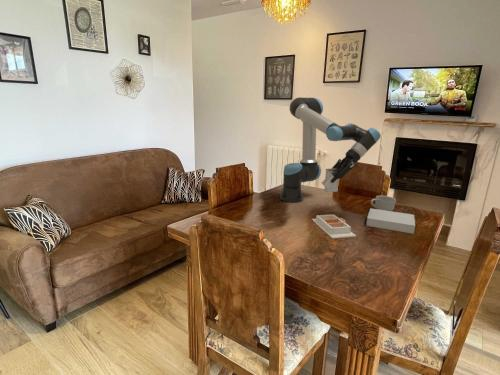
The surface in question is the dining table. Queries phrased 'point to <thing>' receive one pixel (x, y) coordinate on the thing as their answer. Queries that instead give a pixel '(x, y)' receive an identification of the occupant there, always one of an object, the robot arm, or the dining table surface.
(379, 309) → the dining table surface
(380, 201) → the teacup
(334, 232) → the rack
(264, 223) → the dining table surface
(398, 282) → the dining table surface
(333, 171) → the panel
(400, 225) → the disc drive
